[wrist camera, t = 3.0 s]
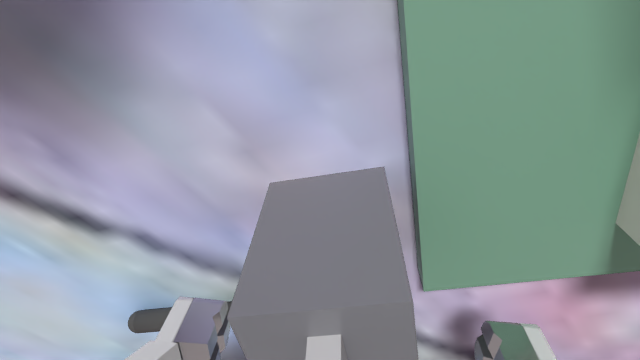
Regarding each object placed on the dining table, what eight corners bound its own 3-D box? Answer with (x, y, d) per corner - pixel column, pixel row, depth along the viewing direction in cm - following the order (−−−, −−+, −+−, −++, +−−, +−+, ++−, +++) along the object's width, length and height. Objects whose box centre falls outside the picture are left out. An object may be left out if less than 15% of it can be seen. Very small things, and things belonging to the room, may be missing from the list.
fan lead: (139, 320, 18) (129, 338, 17) (131, 306, 17) (119, 324, 16) (277, 307, 17) (274, 325, 16) (271, 292, 16) (268, 310, 16)
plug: (295, 265, 16) (268, 446, 10) (270, 182, 13) (216, 350, 8) (394, 254, 15) (429, 440, 9) (383, 166, 13) (419, 334, 7)
